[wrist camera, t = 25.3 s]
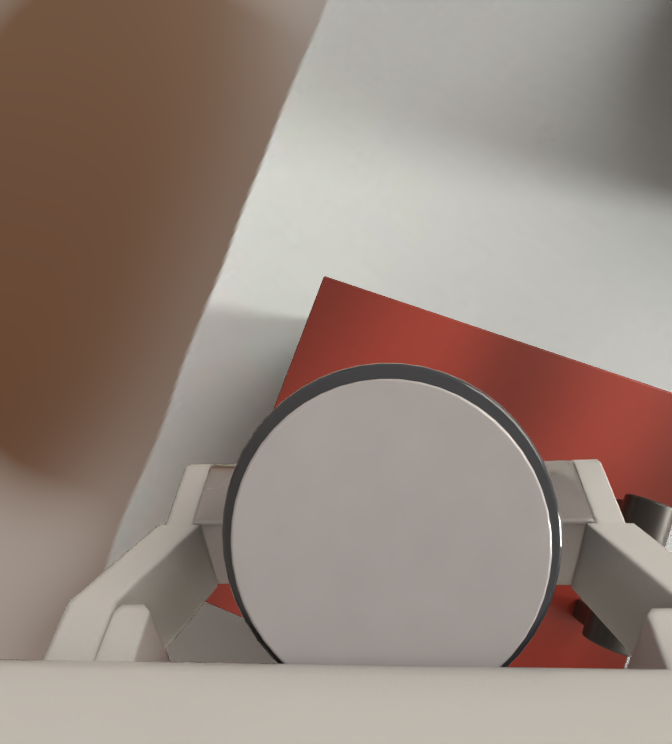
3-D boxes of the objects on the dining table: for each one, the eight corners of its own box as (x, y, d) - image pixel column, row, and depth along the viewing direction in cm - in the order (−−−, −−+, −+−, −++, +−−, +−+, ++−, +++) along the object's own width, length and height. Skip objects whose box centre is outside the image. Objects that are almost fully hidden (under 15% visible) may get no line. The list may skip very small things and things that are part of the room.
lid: (695, 405, 25) (761, 392, 21) (588, 755, 24) (634, 823, 19) (325, 280, 27) (312, 244, 23) (206, 596, 26) (167, 623, 21)
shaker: (433, 377, 18) (474, 290, 9) (518, 550, 17) (656, 642, 8) (267, 455, 18) (146, 444, 9) (343, 631, 17) (293, 808, 8)
